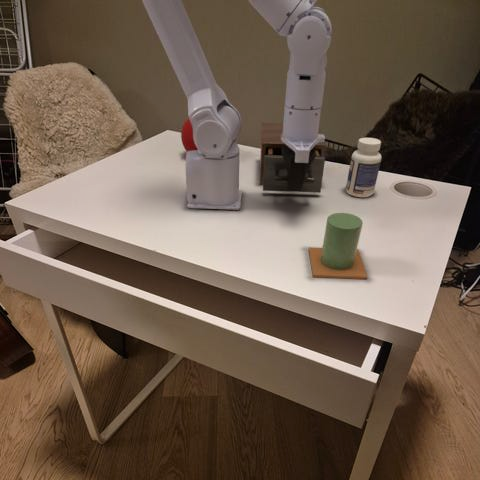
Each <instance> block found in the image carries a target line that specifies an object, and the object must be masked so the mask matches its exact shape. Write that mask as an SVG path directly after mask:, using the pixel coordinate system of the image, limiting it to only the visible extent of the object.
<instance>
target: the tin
mask: <svg viewBox="0 0 480 480" xmlns="http://www.w3.org/2000/svg"><path fill="white" fill-rule="evenodd" d="M363 224H364V223H363V220H362V219H361V218H360V217H359V216H357V215H355V214H352V213H347V212H336V213H331V214H329V216H327V218H326V225H325V229H324V230H325V231H324V236H323V242H322V247H321V248H322V254H321V262H322V264H323V265H325V266H326V267H328V268H331V269H335V270H345V269H349V268H351V267H352V266H353V264H354V260H355V255H356V251H357V249H358V245H359V242H360V237H361V233H362V229H363Z"/></svg>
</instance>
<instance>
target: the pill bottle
mask: <svg viewBox="0 0 480 480" xmlns="http://www.w3.org/2000/svg"><path fill="white" fill-rule="evenodd" d="M356 145H357V146H356V147H357V150H354V151H353V153H352V154H351V157H350V164H349V169H348V174H347V180H346V185H345V186H346V187H345V191H346V193H347V194H348V195H351V196H353V197H356V198H368V197H371V196H372V195H373V194H374V192H375V189H376V184H377V180H378V177H379V176H378V175H379V171H380V167H381V166H380V165H381V162H382V155H381V153H380V152H379V151H380V149H381V145H382V141H381V139H378V138H376V137H361V138H359V139H358V142H357V144H356Z"/></svg>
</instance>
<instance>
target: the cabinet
mask: <svg viewBox="0 0 480 480" xmlns="http://www.w3.org/2000/svg"><path fill="white" fill-rule="evenodd" d="M282 133H283V123H279V122H278V123H277V122H276V123H275V122H273V123H272V122H271V123H270V122H262V123H261V133H260V134H261V136H260V137H261V138H260V157H259V185H260V186H263V177H264V159H265V155H267V147H270V148H281V146H282V145H286V144H285V143H284V142H282V141H281V134H282ZM318 134H323V133H322V130H321V128H320V126H319V130H318ZM326 148H327V144H326V141H324V142H318V143H317V144H316V145H315V149H318V152H319V155H320V157H325V155H326Z"/></svg>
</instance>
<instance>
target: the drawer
mask: <svg viewBox="0 0 480 480" xmlns="http://www.w3.org/2000/svg"><path fill="white" fill-rule="evenodd" d="M315 152H316V157H315V159H314V161H313V162H312V164H311V165H310V167H309V169H308V171H307V174H306V176H305V180H304V183H303V186H302V189H301V191H300V192H299V193H317V194H318V193H319V194H320V193H321V190H322V183H323V177H324V170H325V164H326V158H325V156H324V157H320V155H319V152H318V149H315ZM262 191H263V192H289V193H291V192H292V193H295V192H294V191H289V190H288V183H287V169H286V164H285V161H284V159H283V156H282V150H281V148H270V147H267V155H265V159H264V177H263V185H262Z"/></svg>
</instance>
